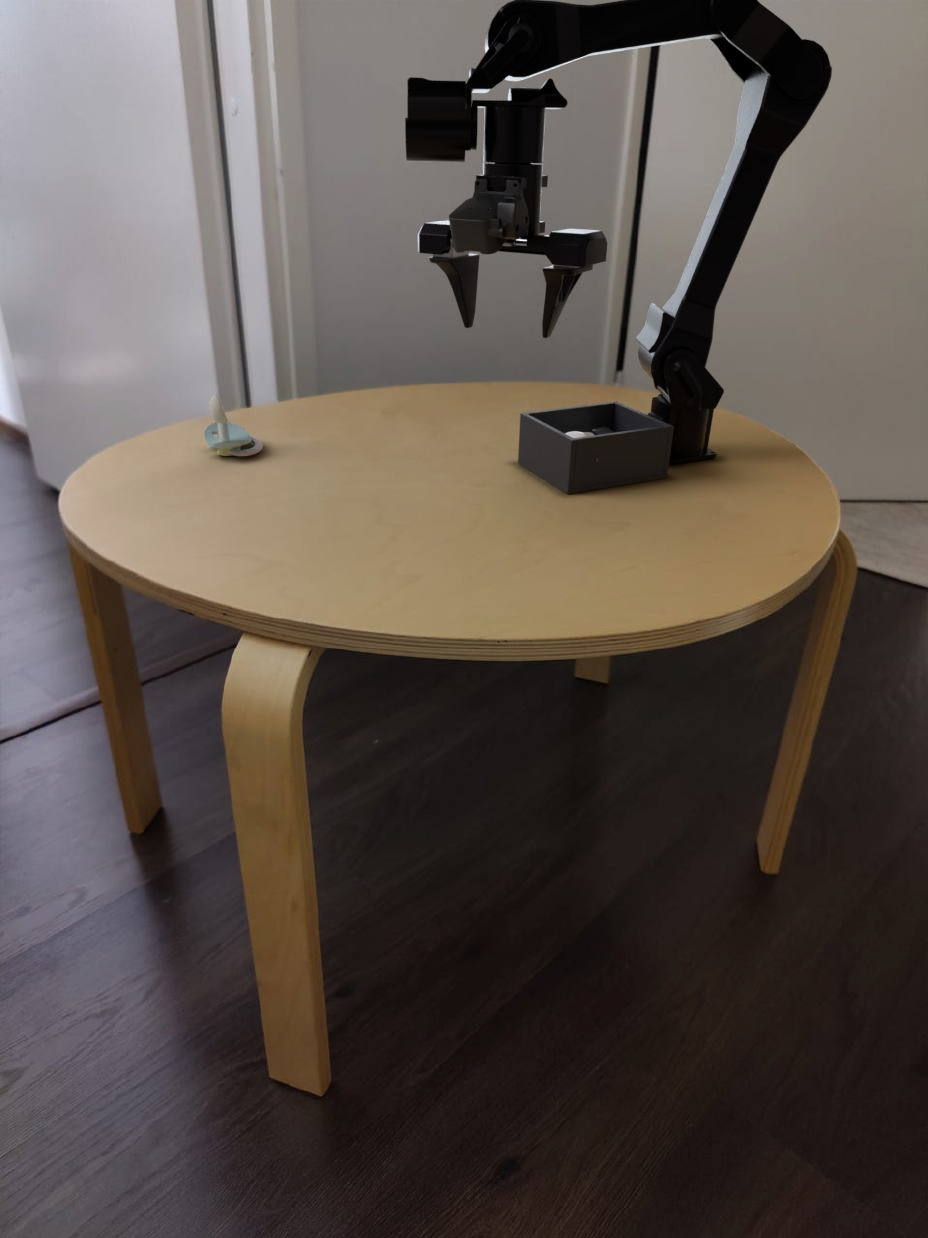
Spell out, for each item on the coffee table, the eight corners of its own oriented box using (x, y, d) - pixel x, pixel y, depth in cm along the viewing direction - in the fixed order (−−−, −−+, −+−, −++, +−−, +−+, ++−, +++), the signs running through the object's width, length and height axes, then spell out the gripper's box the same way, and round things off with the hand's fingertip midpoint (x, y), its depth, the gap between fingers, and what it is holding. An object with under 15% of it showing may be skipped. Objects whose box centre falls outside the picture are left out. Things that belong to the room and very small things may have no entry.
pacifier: (258, 440, 99) (204, 443, 97) (254, 385, 96) (198, 387, 94) (267, 460, 93) (210, 463, 91) (263, 402, 90) (204, 404, 88)
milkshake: (628, 461, 93) (596, 482, 85) (581, 459, 96) (546, 479, 88) (629, 419, 92) (597, 436, 84) (581, 417, 94) (546, 434, 86)
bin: (611, 449, 98) (616, 401, 95) (667, 477, 90) (674, 426, 87) (517, 463, 93) (520, 412, 91) (567, 494, 85) (571, 440, 83)
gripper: (384, 161, 80) (388, 334, 88) (566, 167, 72) (554, 357, 80) (446, 160, 89) (446, 318, 96) (616, 165, 81) (601, 337, 88)
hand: (506, 332), depth 90 cm, fingers open, 9 cm apart
